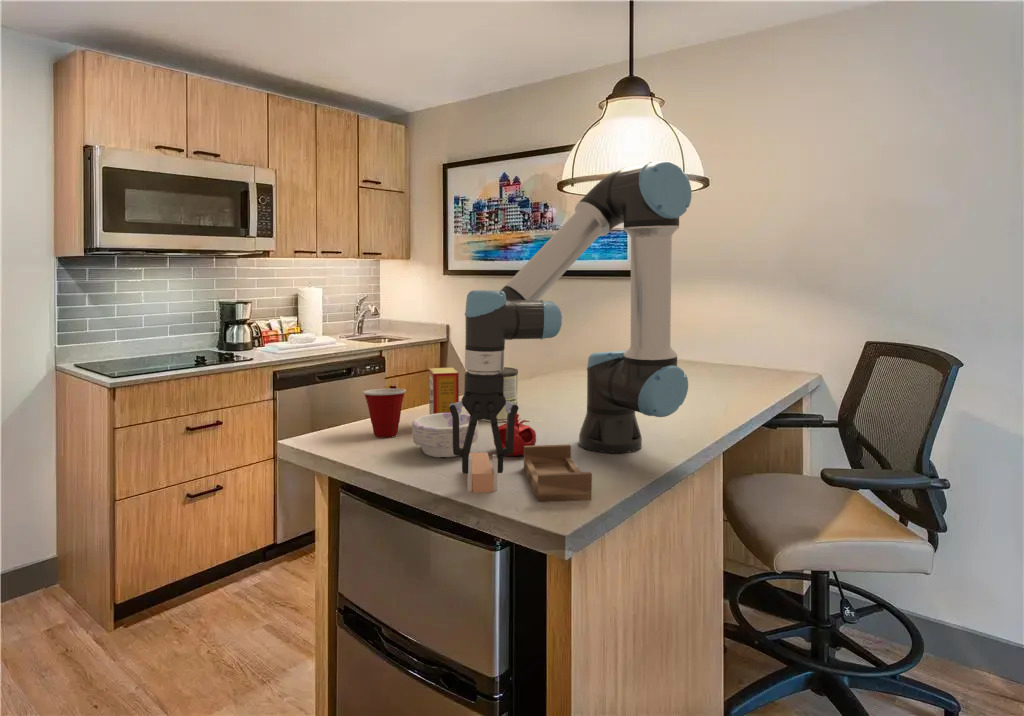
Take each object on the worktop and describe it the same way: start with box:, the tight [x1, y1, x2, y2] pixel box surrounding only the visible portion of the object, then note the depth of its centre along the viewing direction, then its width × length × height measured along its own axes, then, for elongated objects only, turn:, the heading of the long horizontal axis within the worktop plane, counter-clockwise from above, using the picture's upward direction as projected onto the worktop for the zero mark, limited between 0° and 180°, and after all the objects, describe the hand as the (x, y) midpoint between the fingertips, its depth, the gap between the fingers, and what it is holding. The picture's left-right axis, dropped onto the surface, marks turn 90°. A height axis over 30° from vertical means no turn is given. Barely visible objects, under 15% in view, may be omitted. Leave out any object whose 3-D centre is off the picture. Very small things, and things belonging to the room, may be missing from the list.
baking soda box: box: [428, 367, 460, 415], centre depth 173 cm, size 10×6×16 cm
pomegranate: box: [492, 413, 537, 457], centre depth 151 cm, size 10×10×9 cm
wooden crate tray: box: [523, 444, 593, 503], centre depth 130 cm, size 20×10×5 cm, turn 7°
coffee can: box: [482, 366, 519, 424], centre depth 184 cm, size 10×10×14 cm
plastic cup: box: [362, 388, 407, 438], centre depth 165 cm, size 11×11×12 cm
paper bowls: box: [411, 412, 479, 458], centre depth 151 cm, size 15×15×8 cm
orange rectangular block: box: [469, 452, 494, 494], centre depth 132 cm, size 14×4×4 cm, turn 7°
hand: (482, 488), depth 127 cm, fingers open, 4 cm apart
